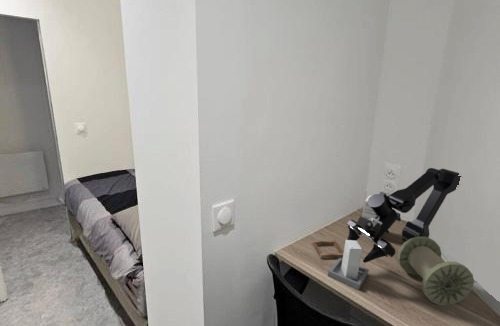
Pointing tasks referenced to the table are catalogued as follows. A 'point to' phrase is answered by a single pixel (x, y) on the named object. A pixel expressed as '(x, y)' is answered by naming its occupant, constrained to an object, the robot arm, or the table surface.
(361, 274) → the cradle tray
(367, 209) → the supplement box
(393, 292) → the table surface
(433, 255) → the spool
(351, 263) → the skincare box
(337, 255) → the open wooden picture frame
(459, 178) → the robot arm
